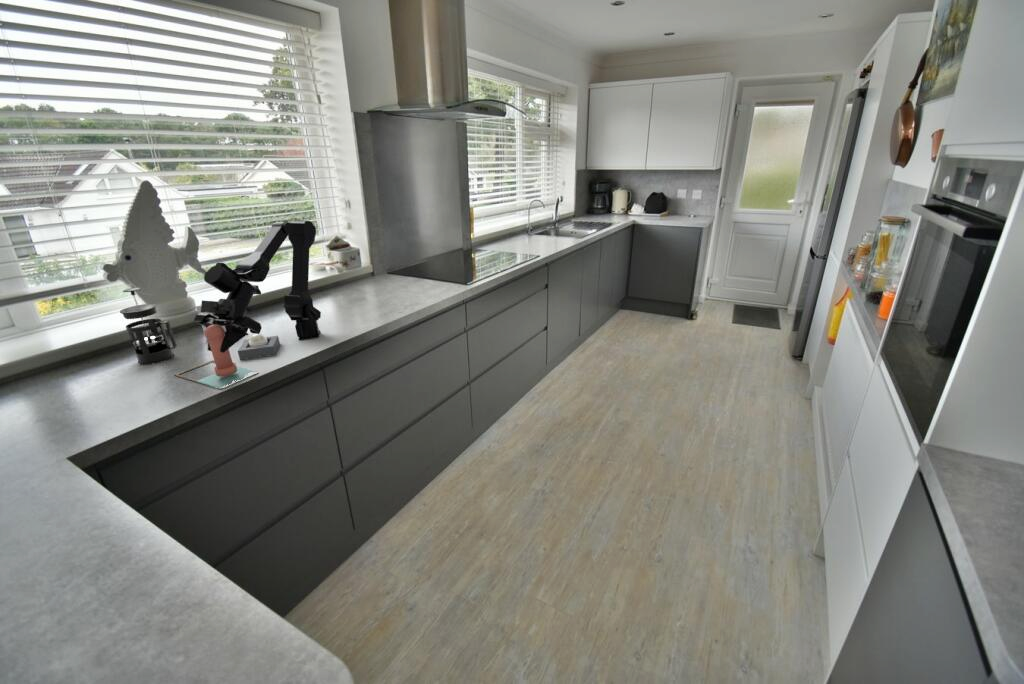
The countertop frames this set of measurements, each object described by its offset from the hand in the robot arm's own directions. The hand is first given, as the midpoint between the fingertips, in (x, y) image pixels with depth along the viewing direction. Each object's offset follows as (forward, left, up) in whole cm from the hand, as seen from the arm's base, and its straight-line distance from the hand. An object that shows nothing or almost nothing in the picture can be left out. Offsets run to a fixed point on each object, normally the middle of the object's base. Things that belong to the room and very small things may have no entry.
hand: (215, 351), depth 125 cm
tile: (-1, -1, -9) cm, 9 cm away
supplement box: (+10, -40, -9) cm, 43 cm away
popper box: (-6, -19, -9) cm, 22 cm away
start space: (+7, -9, -9) cm, 14 cm away
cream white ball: (-6, -19, -8) cm, 22 cm away
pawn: (-1, -1, -7) cm, 7 cm away
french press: (+25, -26, -9) cm, 38 cm away
